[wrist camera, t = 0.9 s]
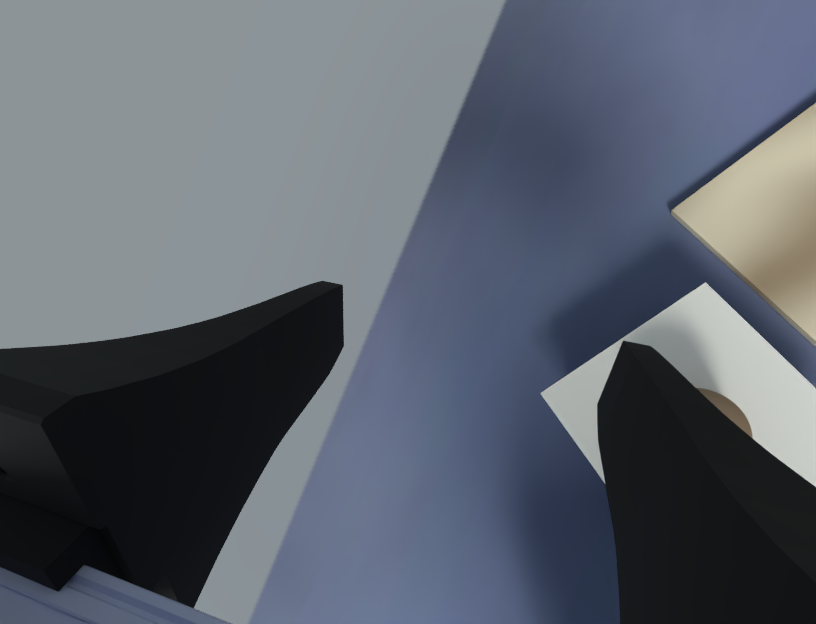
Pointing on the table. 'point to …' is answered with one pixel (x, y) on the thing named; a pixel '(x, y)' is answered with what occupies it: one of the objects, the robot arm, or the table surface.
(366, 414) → the table surface
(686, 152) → the table surface
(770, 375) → the lid
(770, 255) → the birch board
